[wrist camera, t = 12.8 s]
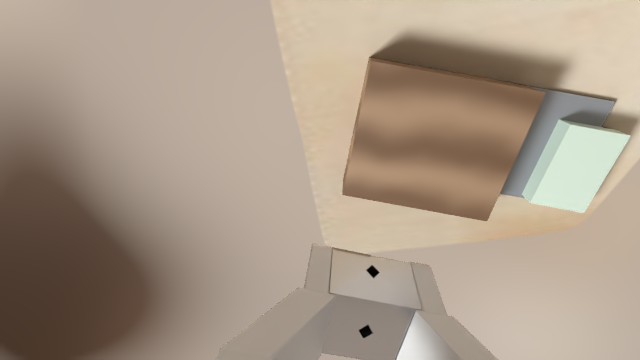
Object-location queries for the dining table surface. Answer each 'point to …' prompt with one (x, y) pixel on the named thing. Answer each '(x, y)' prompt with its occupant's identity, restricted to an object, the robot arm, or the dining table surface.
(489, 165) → the board
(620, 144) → the mint green block
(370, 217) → the dining table surface
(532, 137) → the mat
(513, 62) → the dining table surface
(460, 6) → the dining table surface
